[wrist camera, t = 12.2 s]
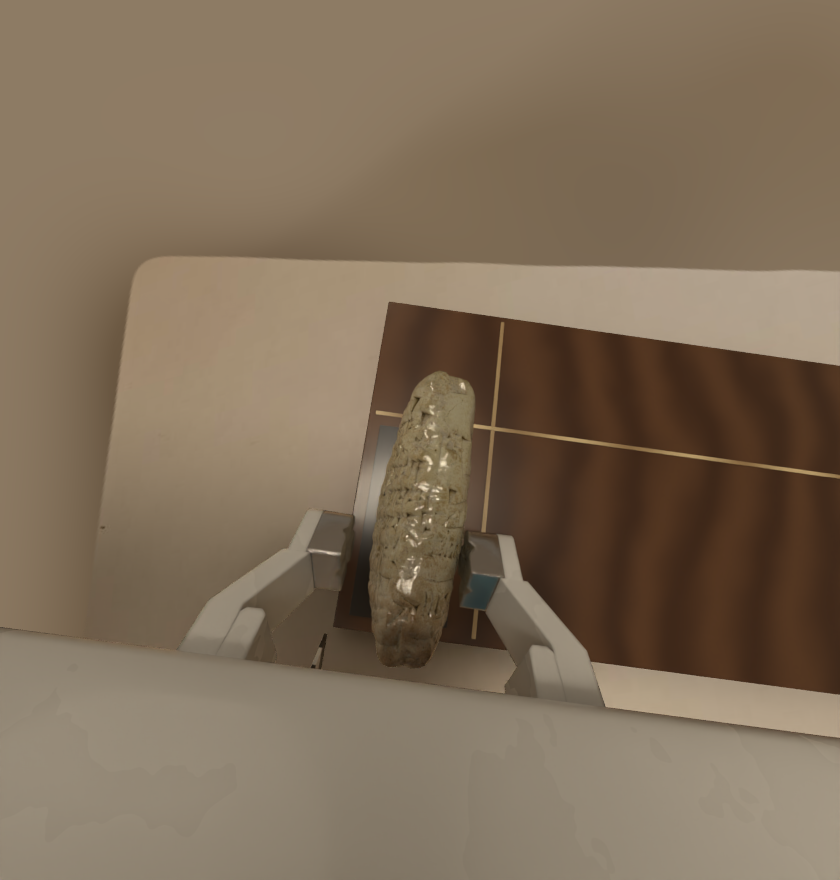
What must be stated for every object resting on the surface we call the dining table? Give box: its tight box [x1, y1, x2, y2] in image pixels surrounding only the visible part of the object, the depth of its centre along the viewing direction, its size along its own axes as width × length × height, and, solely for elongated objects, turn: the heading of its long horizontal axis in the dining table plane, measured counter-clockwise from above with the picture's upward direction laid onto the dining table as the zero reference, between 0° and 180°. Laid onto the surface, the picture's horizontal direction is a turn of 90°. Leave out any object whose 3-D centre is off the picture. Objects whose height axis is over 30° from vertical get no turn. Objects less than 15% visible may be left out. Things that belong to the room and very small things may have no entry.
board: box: [333, 302, 840, 695], centre depth 26 cm, size 42×26×2 cm, turn 82°
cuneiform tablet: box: [311, 371, 476, 669], centre depth 12 cm, size 7×4×12 cm
